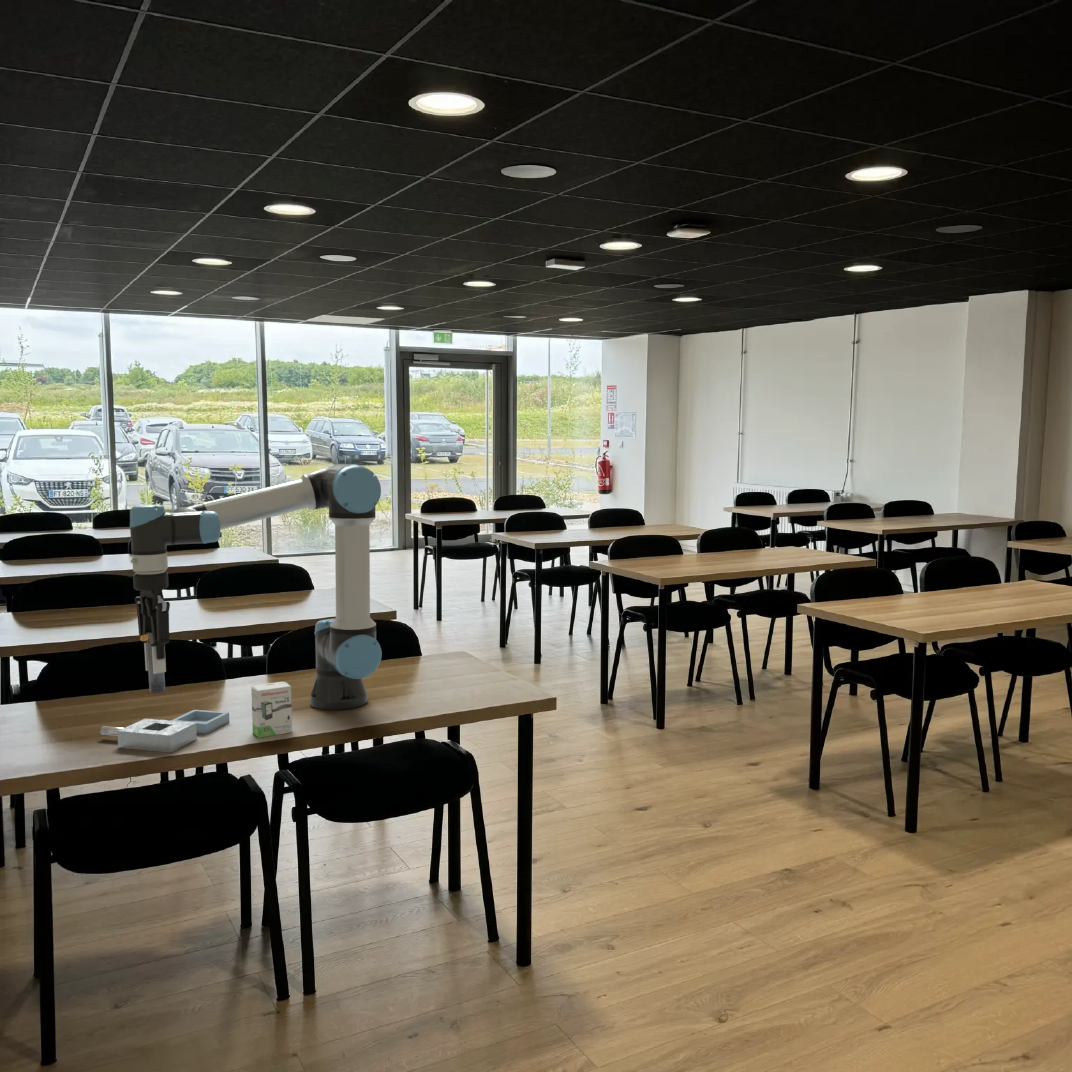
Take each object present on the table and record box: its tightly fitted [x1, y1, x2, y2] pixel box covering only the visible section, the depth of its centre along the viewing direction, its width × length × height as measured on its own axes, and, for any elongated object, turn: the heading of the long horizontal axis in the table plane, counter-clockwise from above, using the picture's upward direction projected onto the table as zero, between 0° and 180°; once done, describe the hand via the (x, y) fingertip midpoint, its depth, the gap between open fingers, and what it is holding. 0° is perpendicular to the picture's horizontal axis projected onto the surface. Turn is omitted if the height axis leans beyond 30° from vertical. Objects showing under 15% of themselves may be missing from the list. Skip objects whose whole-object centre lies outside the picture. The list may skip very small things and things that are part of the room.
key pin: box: [139, 631, 166, 694], centre depth 223 cm, size 6×3×14 cm, turn 128°
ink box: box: [250, 681, 293, 739], centre depth 232 cm, size 9×5×12 cm, turn 123°
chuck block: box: [99, 718, 198, 754], centre depth 225 cm, size 22×10×4 cm, turn 76°
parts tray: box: [170, 709, 230, 735], centre depth 237 cm, size 10×10×2 cm
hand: (155, 670), depth 223 cm, fingers closed on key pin, 3 cm apart
